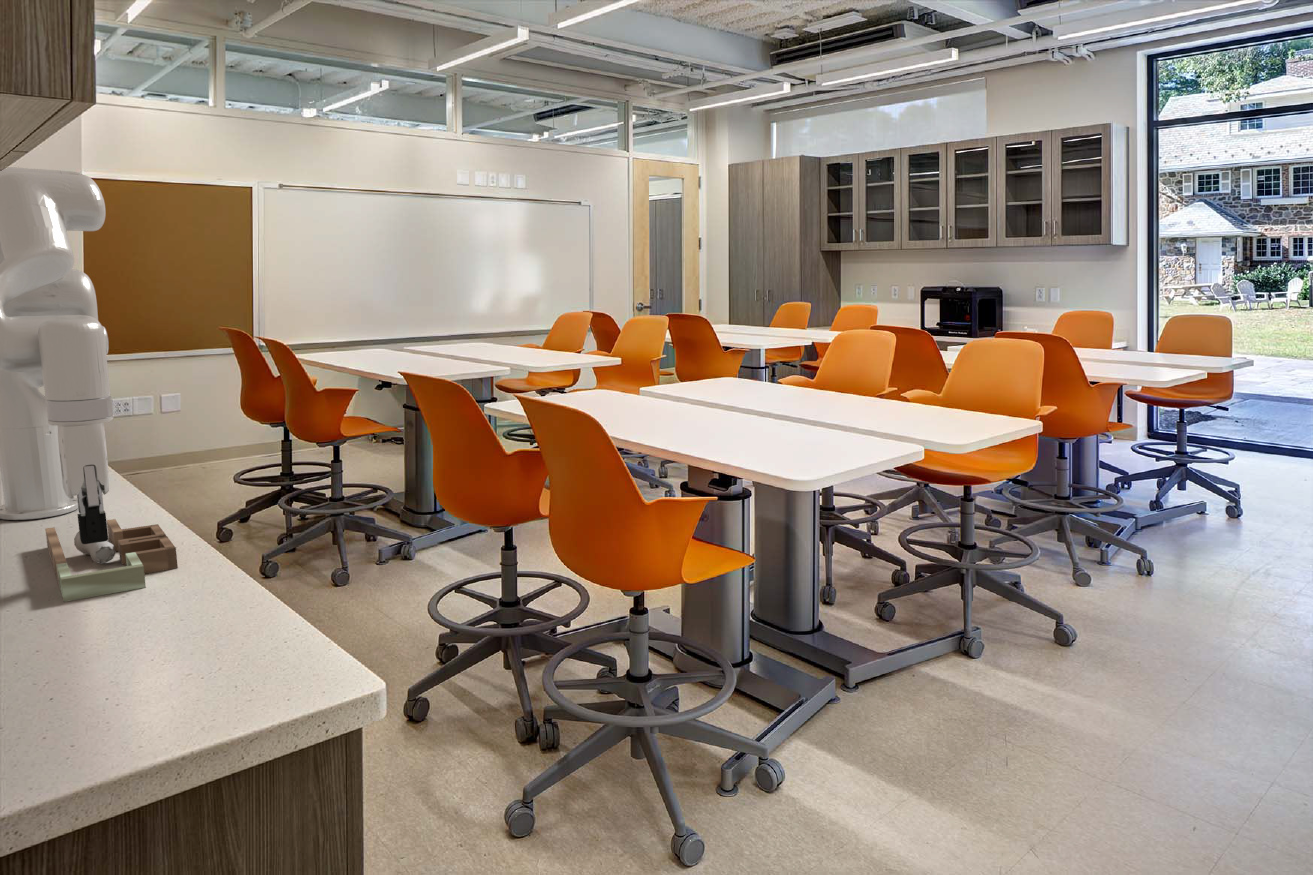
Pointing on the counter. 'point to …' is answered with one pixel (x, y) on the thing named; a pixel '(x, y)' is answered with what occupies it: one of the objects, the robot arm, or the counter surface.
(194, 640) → the counter surface
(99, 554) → the rook chess piece
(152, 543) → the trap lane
